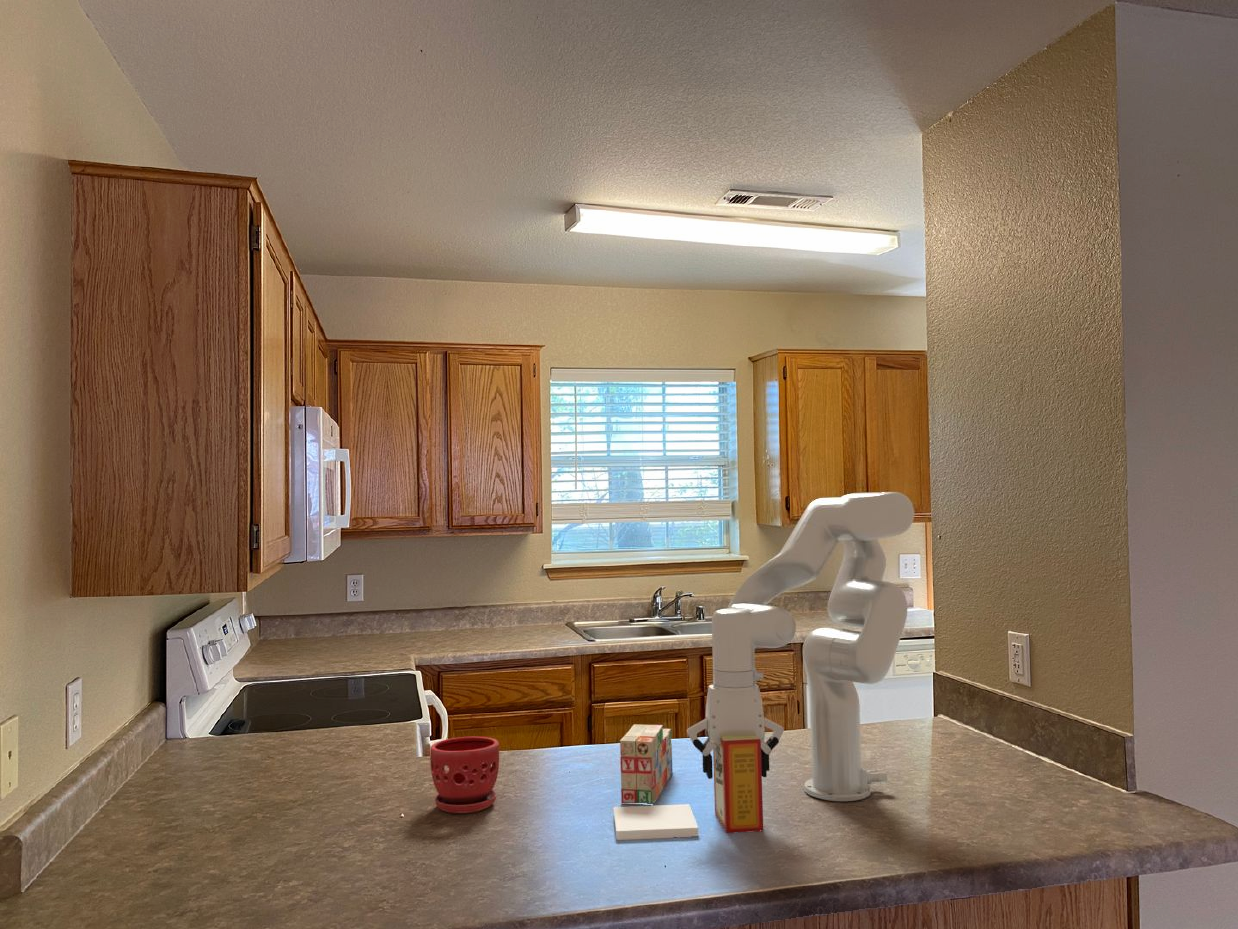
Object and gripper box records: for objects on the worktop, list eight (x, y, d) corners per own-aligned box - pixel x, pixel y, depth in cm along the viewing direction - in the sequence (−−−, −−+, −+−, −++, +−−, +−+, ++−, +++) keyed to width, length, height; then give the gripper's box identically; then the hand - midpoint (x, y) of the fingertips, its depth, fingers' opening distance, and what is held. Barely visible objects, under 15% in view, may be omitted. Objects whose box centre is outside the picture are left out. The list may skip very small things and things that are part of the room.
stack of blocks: (644, 771, 192) (642, 713, 192) (673, 773, 190) (671, 714, 191) (621, 805, 171) (619, 739, 171) (653, 806, 169) (651, 740, 170)
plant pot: (514, 804, 172) (513, 740, 173) (458, 823, 163) (457, 756, 163) (472, 790, 181) (471, 730, 182) (417, 807, 172) (416, 744, 172)
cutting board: (689, 812, 165) (689, 804, 165) (698, 836, 153) (698, 827, 153) (613, 815, 165) (613, 807, 165) (616, 840, 153) (616, 831, 153)
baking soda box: (715, 814, 164) (712, 725, 165) (750, 812, 165) (747, 724, 165) (726, 833, 155) (723, 739, 155) (763, 831, 155) (760, 737, 156)
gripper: (777, 673, 165) (779, 768, 164) (683, 676, 164) (685, 771, 163) (786, 681, 157) (789, 780, 157) (688, 684, 156) (690, 784, 156)
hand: (736, 775), depth 160 cm, fingers open, 9 cm apart
